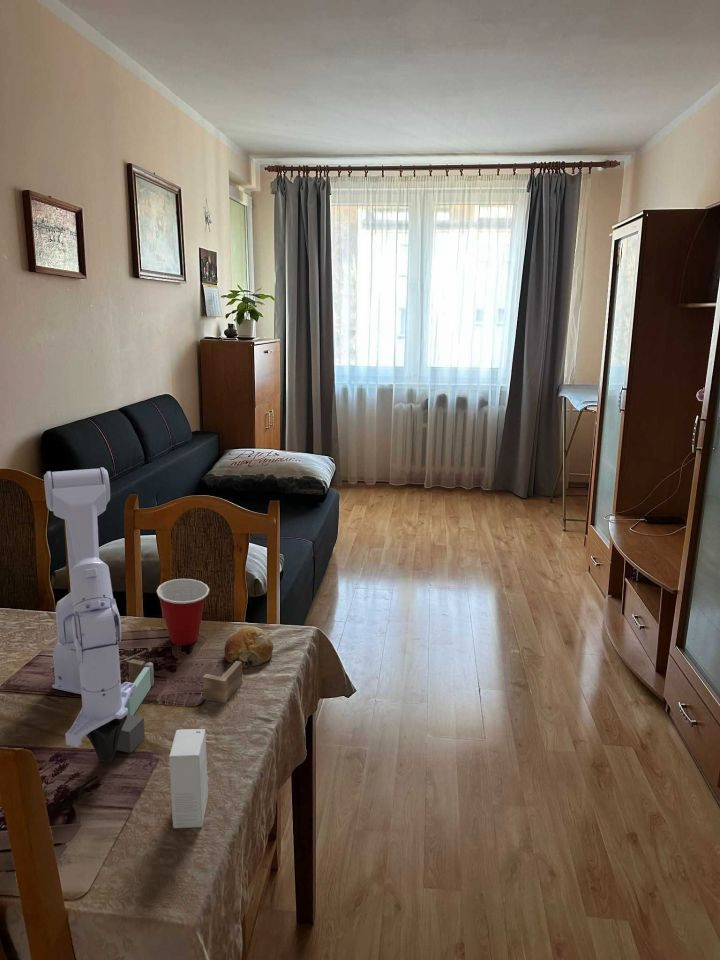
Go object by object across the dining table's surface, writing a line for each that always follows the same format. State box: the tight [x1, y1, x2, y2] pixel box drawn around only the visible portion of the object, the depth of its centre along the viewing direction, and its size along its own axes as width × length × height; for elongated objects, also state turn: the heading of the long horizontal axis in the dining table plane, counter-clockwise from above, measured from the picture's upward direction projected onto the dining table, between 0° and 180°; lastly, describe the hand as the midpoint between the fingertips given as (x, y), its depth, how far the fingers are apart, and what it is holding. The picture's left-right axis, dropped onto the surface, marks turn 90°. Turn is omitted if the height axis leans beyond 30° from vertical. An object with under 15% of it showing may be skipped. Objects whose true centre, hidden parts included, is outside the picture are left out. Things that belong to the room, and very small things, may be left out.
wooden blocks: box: [128, 658, 243, 704], centre depth 128 cm, size 20×7×4 cm, turn 74°
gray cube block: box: [116, 714, 146, 754], centre depth 111 cm, size 4×4×4 cm
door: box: [125, 661, 155, 716], centre depth 122 cm, size 12×2×4 cm, turn 177°
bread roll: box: [224, 625, 274, 668], centre depth 139 cm, size 10×10×8 cm
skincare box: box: [168, 728, 209, 829], centre depth 95 cm, size 6×4×12 cm
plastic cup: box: [156, 578, 210, 646], centre depth 144 cm, size 11×11×12 cm
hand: (106, 758), depth 106 cm, fingers closed
